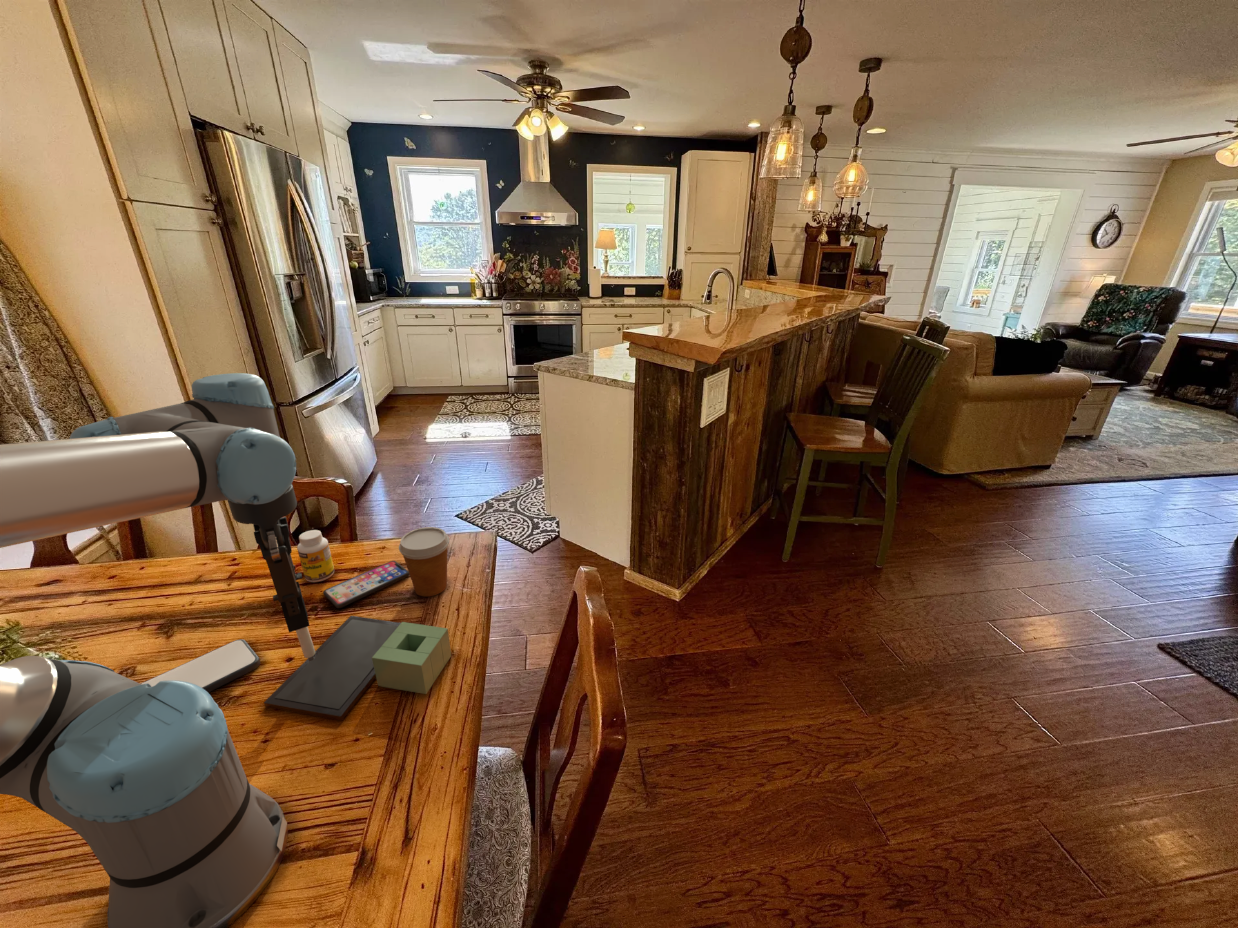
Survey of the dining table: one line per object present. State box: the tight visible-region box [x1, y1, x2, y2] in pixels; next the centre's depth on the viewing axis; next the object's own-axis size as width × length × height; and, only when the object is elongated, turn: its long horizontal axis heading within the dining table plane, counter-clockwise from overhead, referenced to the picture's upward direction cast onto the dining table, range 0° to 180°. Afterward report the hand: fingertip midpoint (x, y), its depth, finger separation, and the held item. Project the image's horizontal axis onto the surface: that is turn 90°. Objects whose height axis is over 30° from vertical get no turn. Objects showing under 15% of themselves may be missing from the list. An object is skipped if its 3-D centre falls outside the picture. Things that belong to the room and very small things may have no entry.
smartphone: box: [323, 560, 410, 609], centre depth 102 cm, size 8×1×15 cm
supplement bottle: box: [296, 529, 335, 583], centre depth 103 cm, size 6×6×10 cm
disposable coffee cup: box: [398, 526, 450, 597], centre depth 100 cm, size 10×10×12 cm
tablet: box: [263, 615, 402, 722], centre depth 83 cm, size 20×13×1 cm, turn 170°
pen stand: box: [372, 621, 452, 695], centre depth 81 cm, size 8×8×6 cm
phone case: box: [140, 638, 261, 694], centre depth 79 cm, size 9×2×16 cm
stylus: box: [295, 626, 316, 661], centre depth 77 cm, size 2×2×15 cm
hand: (298, 623), depth 77 cm, fingers closed on stylus, 1 cm apart
